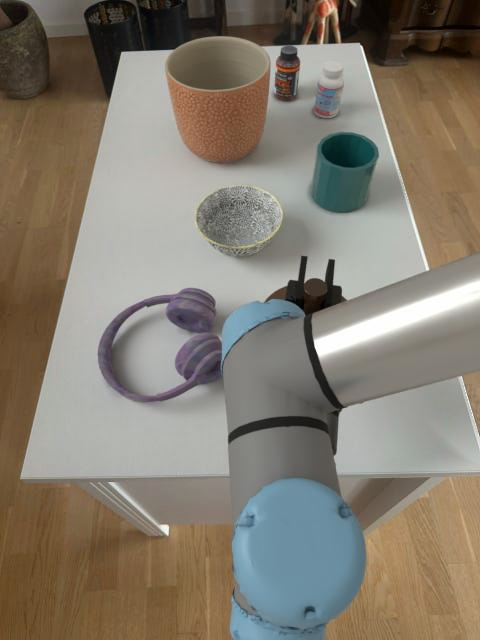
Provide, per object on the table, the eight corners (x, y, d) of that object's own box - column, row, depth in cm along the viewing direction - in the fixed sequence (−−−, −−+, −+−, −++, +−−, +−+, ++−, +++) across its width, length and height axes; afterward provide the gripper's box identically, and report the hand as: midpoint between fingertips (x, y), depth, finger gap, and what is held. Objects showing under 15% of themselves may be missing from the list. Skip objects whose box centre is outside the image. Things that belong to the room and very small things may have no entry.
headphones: (216, 295, 78) (108, 327, 79) (205, 267, 71) (87, 303, 72) (239, 388, 69) (116, 424, 69) (229, 366, 62) (93, 406, 62)
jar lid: (375, 357, 54) (394, 318, 47) (276, 385, 52) (281, 349, 45) (333, 278, 61) (344, 233, 53) (244, 301, 59) (243, 258, 52)
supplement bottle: (271, 100, 112) (273, 53, 103) (276, 88, 115) (278, 41, 106) (295, 103, 111) (299, 56, 102) (298, 90, 115) (303, 44, 105)
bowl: (240, 288, 80) (239, 261, 74) (181, 244, 86) (176, 215, 80) (297, 241, 86) (300, 212, 80) (238, 202, 92) (237, 173, 86)
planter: (283, 158, 100) (289, 73, 84) (198, 186, 95) (188, 102, 79) (243, 111, 110) (242, 27, 94) (165, 134, 105) (150, 50, 89)
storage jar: (375, 205, 91) (389, 162, 82) (323, 218, 89) (331, 175, 81) (352, 170, 97) (362, 127, 88) (302, 181, 95) (308, 138, 87)
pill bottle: (308, 112, 109) (314, 65, 100) (324, 102, 112) (331, 55, 102) (327, 122, 107) (335, 75, 97) (343, 111, 109) (352, 65, 100)
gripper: (217, 450, 46) (253, 275, 58) (370, 477, 44) (374, 291, 57) (212, 426, 40) (254, 235, 52) (390, 456, 38) (389, 252, 50)
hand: (316, 265), depth 54 cm, fingers closed on jar lid, 3 cm apart
